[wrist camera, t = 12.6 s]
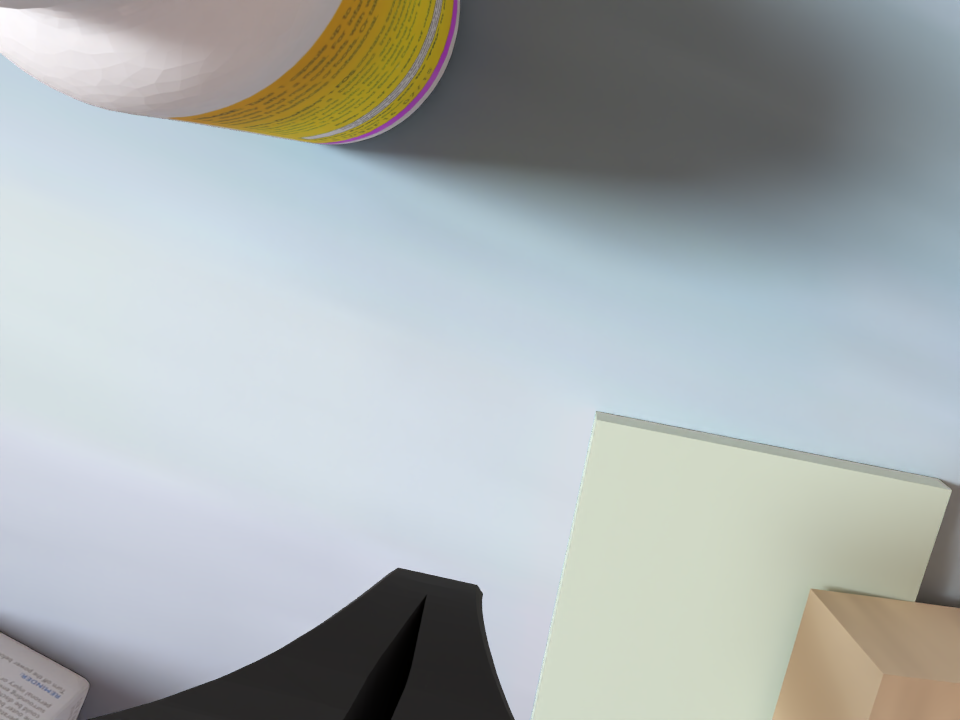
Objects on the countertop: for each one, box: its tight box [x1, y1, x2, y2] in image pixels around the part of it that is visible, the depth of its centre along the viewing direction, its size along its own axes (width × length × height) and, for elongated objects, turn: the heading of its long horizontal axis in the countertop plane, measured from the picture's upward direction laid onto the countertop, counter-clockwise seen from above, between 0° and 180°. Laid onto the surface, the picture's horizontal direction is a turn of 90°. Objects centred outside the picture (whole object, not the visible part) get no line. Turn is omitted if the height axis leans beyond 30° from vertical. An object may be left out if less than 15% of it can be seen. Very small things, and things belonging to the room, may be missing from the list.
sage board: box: [531, 411, 952, 720], centre depth 22 cm, size 13×9×1 cm
